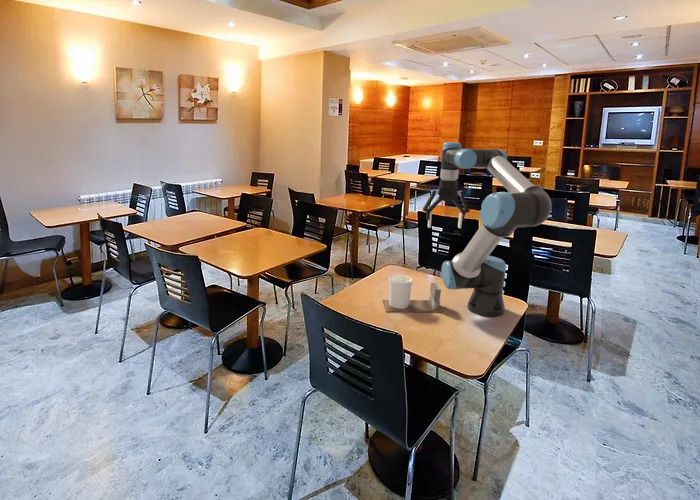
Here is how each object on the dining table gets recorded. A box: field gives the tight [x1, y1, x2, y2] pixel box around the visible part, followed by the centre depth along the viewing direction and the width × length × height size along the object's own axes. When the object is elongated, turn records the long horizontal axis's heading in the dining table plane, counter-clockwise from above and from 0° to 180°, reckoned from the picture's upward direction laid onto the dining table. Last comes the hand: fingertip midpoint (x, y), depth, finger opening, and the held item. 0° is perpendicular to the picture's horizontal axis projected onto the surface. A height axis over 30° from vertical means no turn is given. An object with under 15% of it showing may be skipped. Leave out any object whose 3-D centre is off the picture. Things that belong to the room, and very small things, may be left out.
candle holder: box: [388, 274, 413, 309], centre depth 188 cm, size 10×10×12 cm
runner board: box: [382, 282, 444, 313], centre depth 188 cm, size 24×12×9 cm, turn 93°
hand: (444, 227), depth 195 cm, fingers open, 13 cm apart
